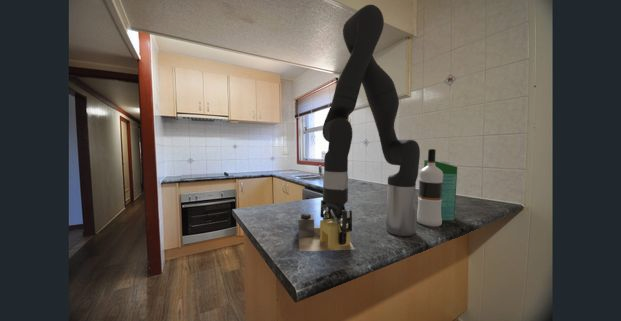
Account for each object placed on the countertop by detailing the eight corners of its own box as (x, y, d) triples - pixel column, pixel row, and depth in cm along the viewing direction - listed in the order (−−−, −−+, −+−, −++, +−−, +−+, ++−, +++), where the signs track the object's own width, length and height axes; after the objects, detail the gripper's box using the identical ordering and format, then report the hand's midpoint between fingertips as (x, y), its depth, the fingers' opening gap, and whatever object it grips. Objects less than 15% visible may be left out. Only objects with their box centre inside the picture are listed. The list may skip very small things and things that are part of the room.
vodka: (410, 221, 86) (413, 148, 84) (424, 217, 90) (428, 148, 88) (432, 229, 78) (436, 149, 76) (447, 225, 82) (451, 149, 80)
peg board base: (341, 230, 76) (342, 209, 75) (354, 253, 60) (355, 226, 59) (298, 232, 74) (298, 210, 74) (299, 255, 58) (299, 228, 58)
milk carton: (454, 220, 87) (458, 161, 85) (432, 220, 87) (435, 161, 85) (441, 213, 96) (444, 159, 94) (421, 213, 96) (424, 159, 94)
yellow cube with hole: (338, 236, 68) (339, 215, 68) (350, 244, 62) (350, 221, 62) (320, 240, 65) (320, 218, 65) (329, 249, 60) (330, 225, 59)
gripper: (313, 182, 67) (313, 231, 68) (337, 191, 54) (336, 251, 55) (333, 181, 70) (332, 227, 72) (360, 189, 58) (359, 245, 59)
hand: (334, 238), depth 64 cm, fingers open, 8 cm apart
